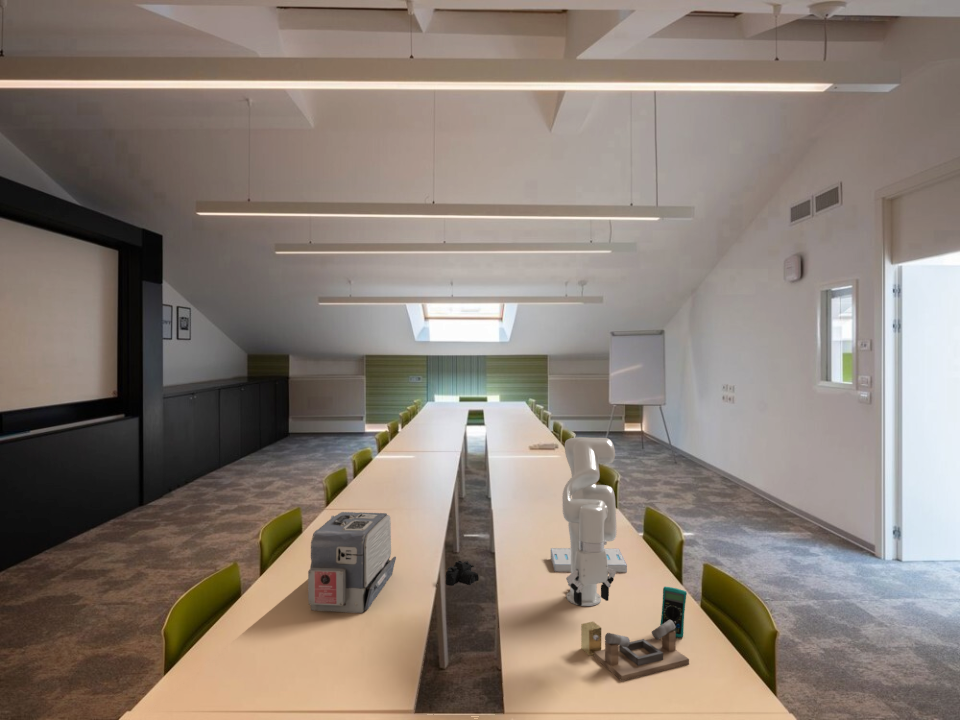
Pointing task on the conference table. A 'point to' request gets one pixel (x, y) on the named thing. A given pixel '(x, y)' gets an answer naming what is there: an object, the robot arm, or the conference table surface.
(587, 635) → the block
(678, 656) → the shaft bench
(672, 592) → the digital multimeter
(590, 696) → the conference table surface
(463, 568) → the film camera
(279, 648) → the conference table surface
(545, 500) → the conference table surface
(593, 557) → the robot arm
